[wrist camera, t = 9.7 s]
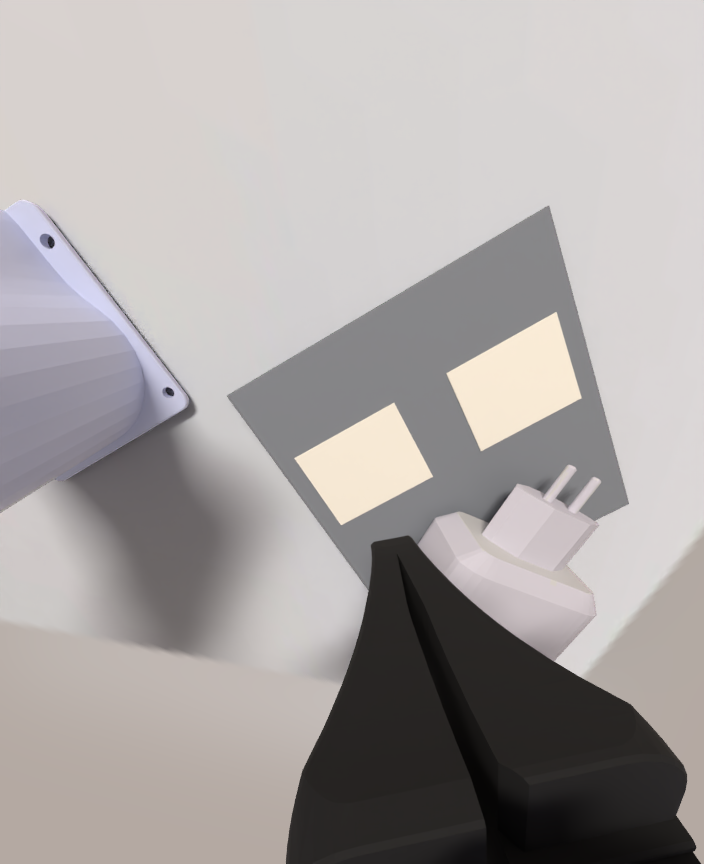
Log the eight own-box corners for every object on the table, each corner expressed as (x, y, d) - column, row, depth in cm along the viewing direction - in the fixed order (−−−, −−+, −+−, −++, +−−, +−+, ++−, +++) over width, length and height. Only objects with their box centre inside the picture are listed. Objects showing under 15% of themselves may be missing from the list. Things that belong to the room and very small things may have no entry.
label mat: (227, 395, 16) (226, 396, 16) (547, 206, 15) (549, 205, 14) (390, 619, 22) (390, 621, 22) (627, 502, 21) (629, 504, 21)
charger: (610, 481, 20) (474, 648, 24) (489, 420, 18) (363, 615, 22) (692, 530, 16) (509, 725, 20) (545, 456, 13) (374, 693, 17)
